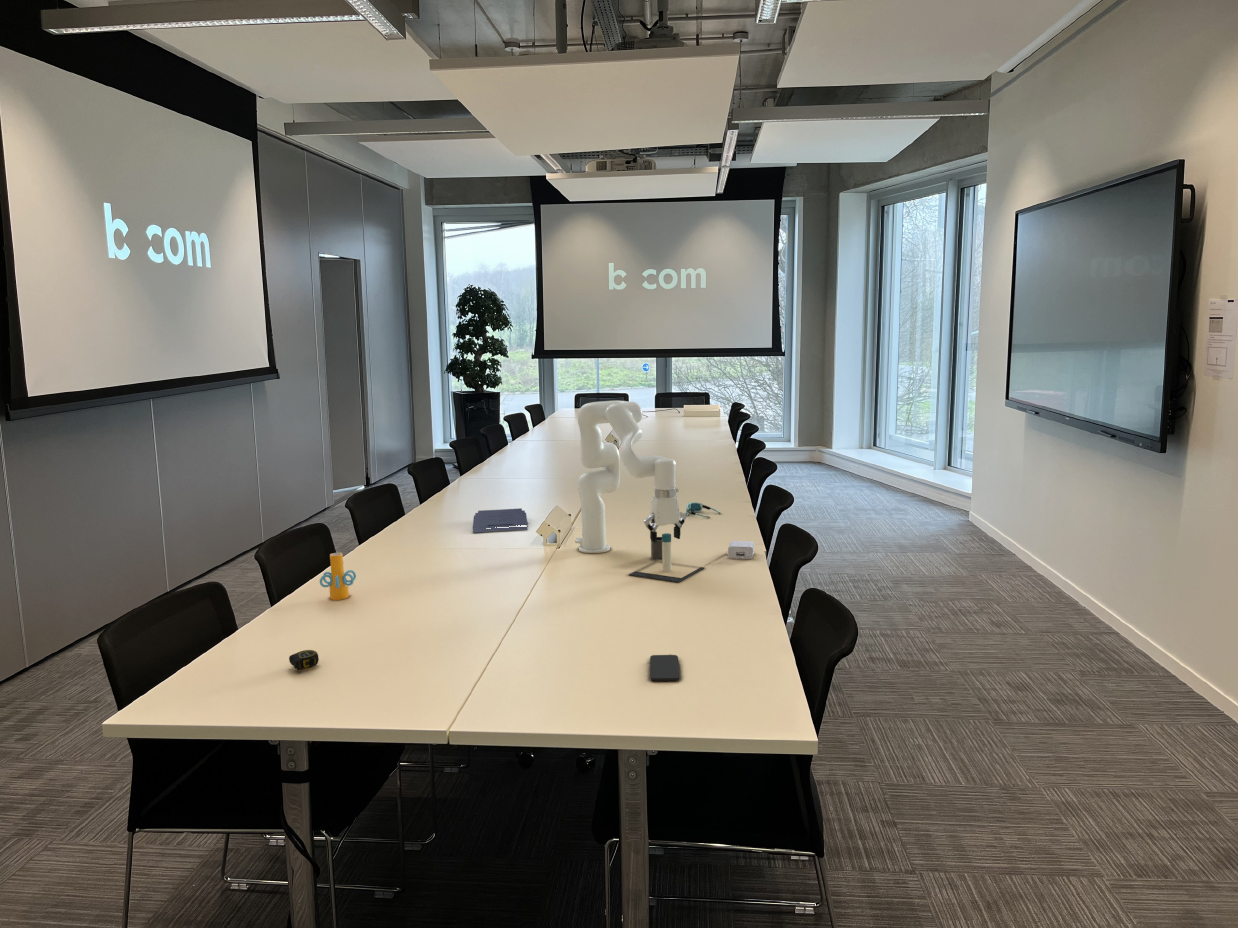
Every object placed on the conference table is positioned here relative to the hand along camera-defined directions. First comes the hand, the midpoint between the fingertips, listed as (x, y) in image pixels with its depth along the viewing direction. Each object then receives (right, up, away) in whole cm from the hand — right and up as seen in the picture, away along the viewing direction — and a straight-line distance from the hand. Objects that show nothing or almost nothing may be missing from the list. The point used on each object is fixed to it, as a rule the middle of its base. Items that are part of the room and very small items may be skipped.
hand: (665, 539), depth 305 cm
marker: (+1, -11, +1) cm, 11 cm away
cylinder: (-111, -18, -19) cm, 114 cm away
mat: (+1, -12, +1) cm, 12 cm away
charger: (+31, -8, +24) cm, 40 cm away
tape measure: (-100, -27, -79) cm, 131 cm away
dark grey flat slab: (-71, -1, +85) cm, 111 cm away
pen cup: (-1, -9, +19) cm, 21 cm away
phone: (-5, -26, -87) cm, 91 cm away
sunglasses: (+22, +3, +95) cm, 98 cm away
